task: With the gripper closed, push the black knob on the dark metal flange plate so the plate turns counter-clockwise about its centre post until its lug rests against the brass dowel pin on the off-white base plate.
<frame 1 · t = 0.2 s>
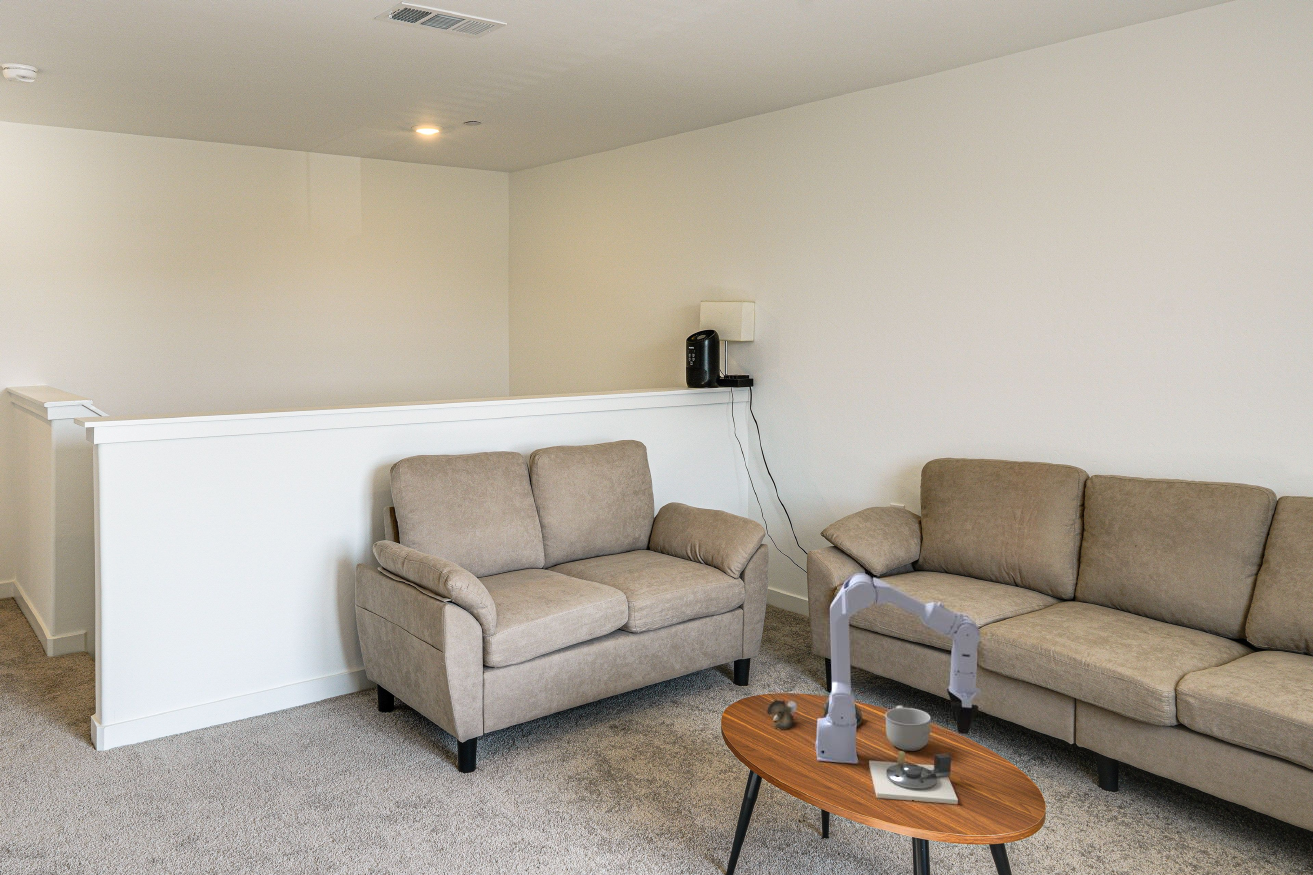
hand: (960, 726, 214), 10 cm above the table, tool pointing down, fingers open, 7 cm apart
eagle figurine: (780, 723, 241), on the table
fossil: (841, 723, 242), on the table
flange plate: (919, 767, 207), point 3 cm above the table, hinge at 0.0°
base plate: (911, 783, 207), on the table
teacup: (905, 744, 229), on the table
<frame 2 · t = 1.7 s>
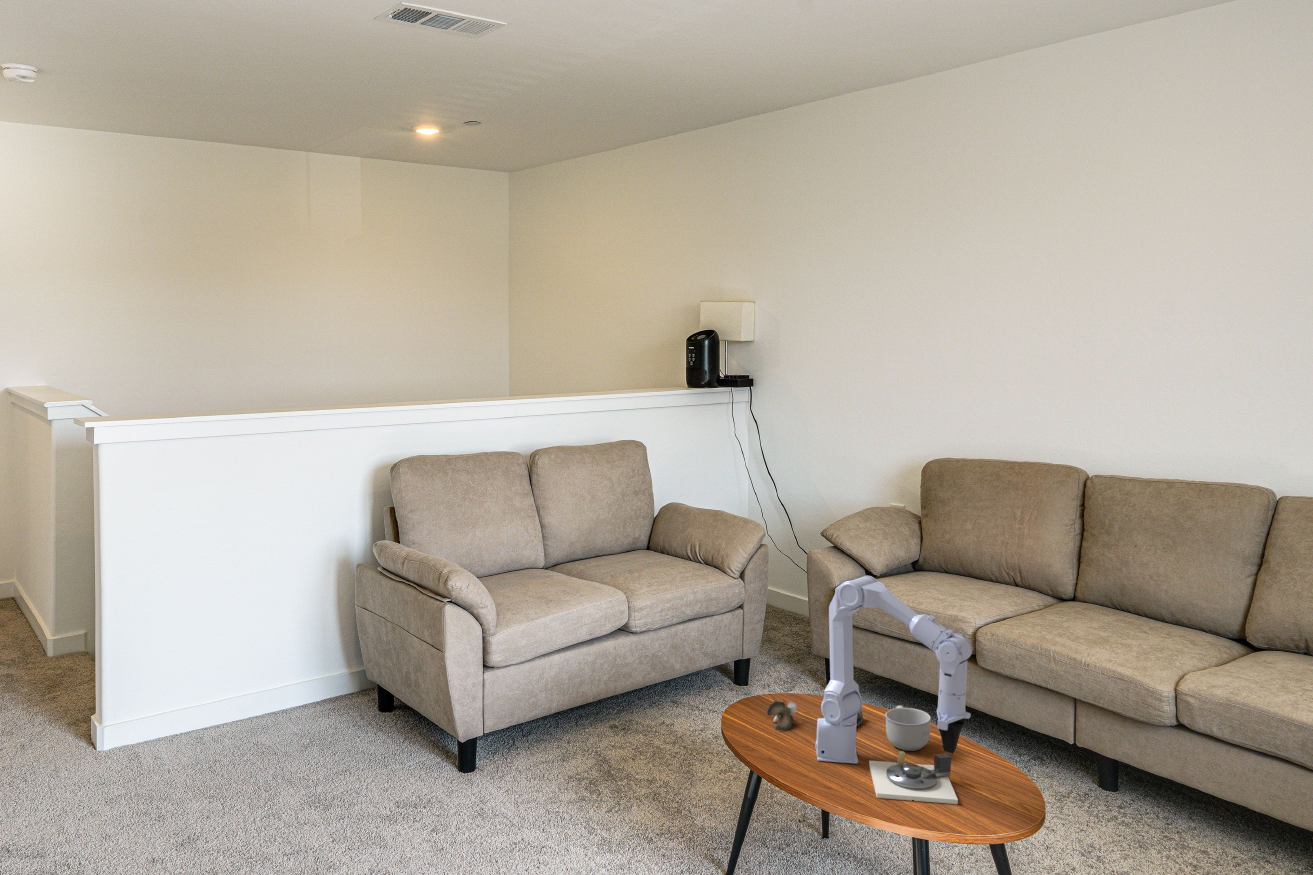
hand: (949, 751, 202), 9 cm above the table, tool pointing down, fingers closed
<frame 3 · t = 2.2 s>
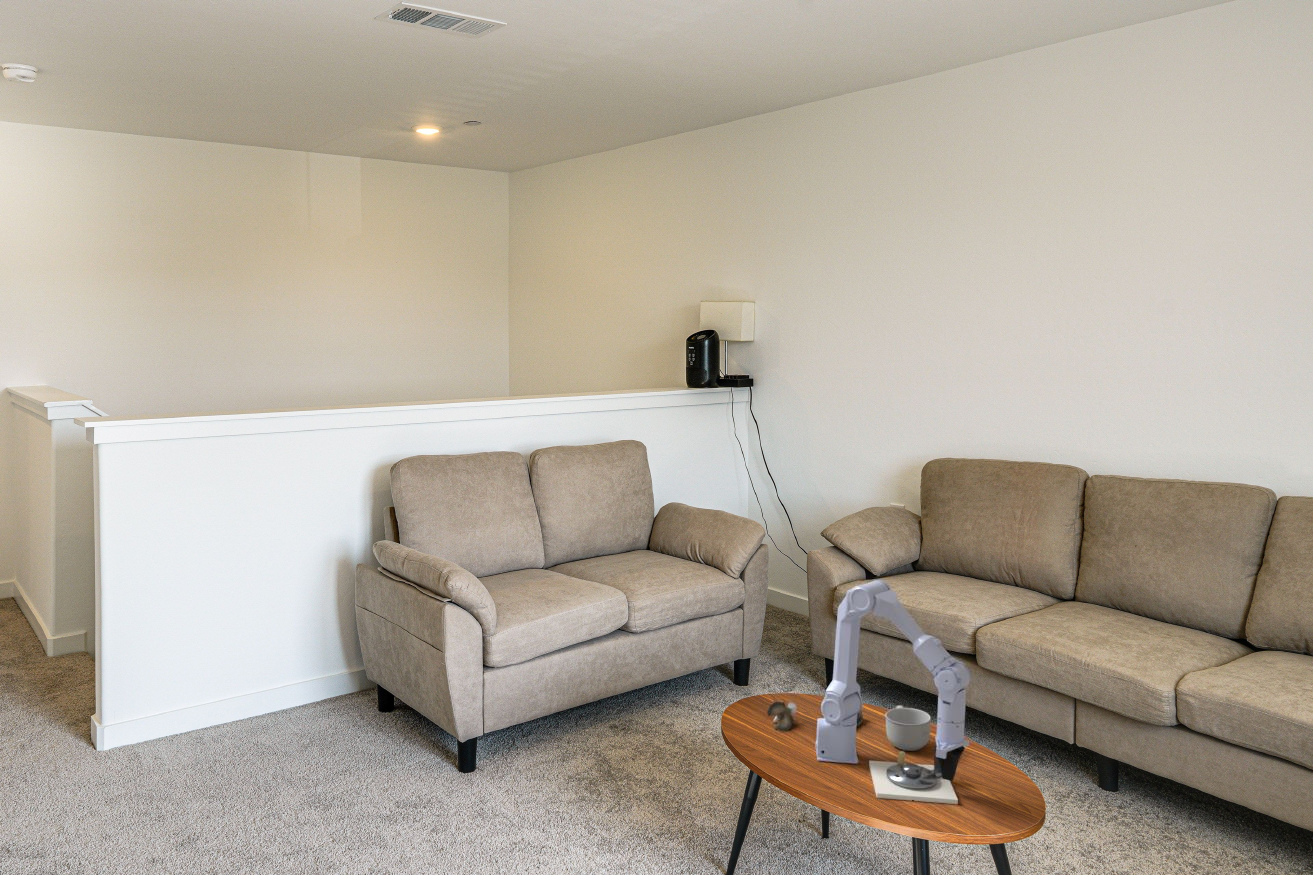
hand: (948, 778, 202), 3 cm above the table, tool pointing down, fingers closed
nothing on the table moved.
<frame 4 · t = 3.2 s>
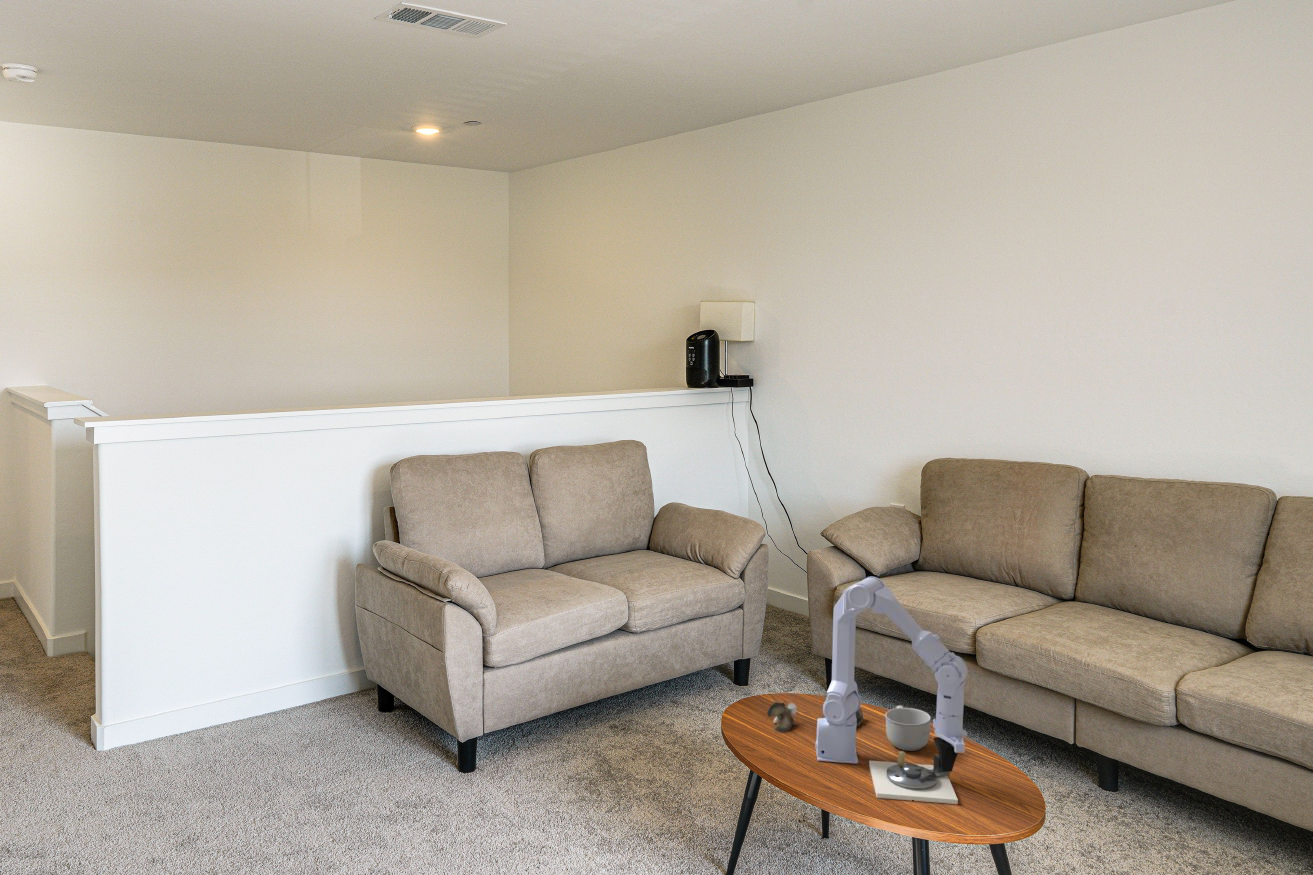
hand: (946, 770, 207), 3 cm above the table, tool pointing down, fingers closed
flange plate: (919, 767, 207), point 3 cm above the table, hinge at 1.4°, touching gripper
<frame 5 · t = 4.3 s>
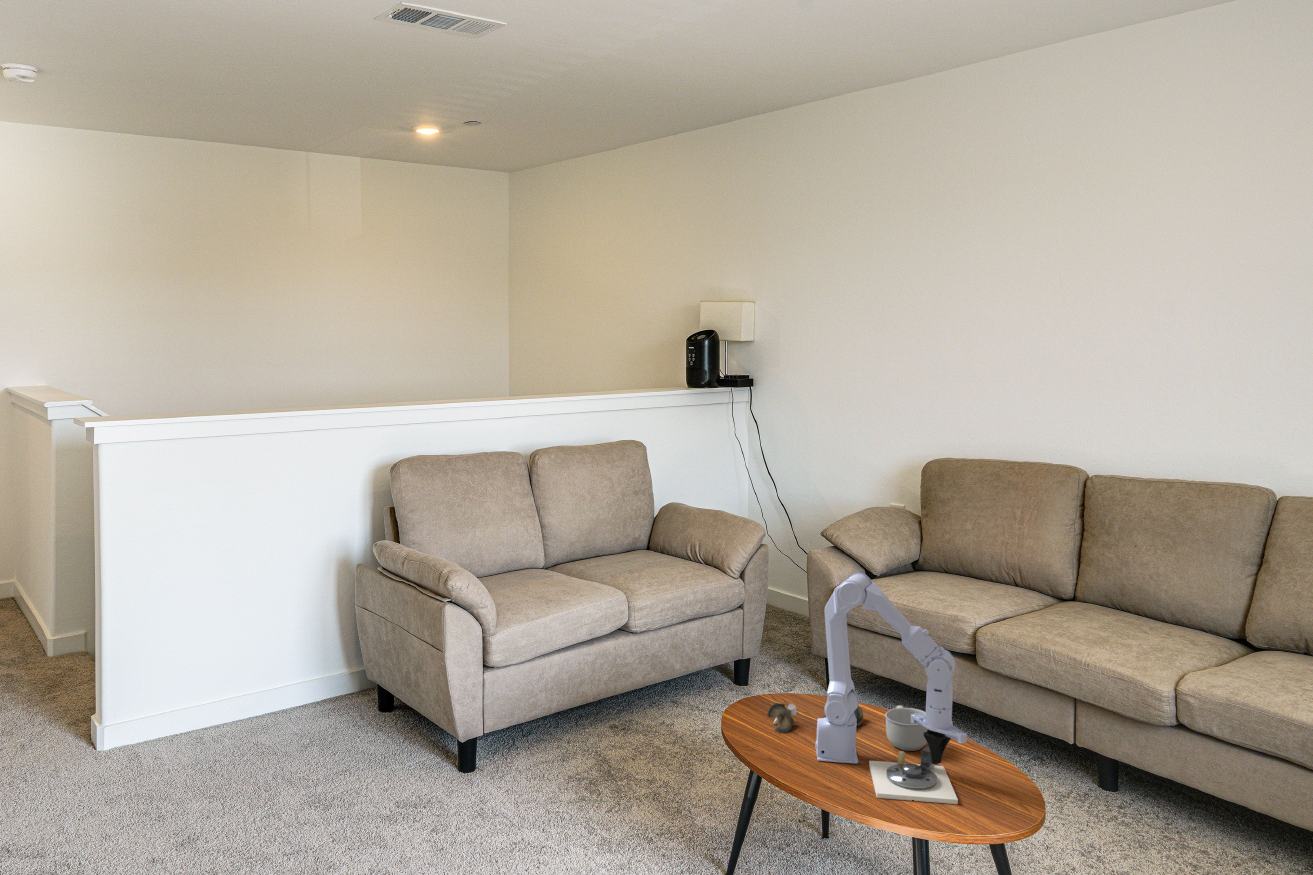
hand: (936, 762, 210), 3 cm above the table, tool pointing down, fingers closed
flange plate: (916, 765, 208), point 3 cm above the table, hinge at 29.9°, touching gripper
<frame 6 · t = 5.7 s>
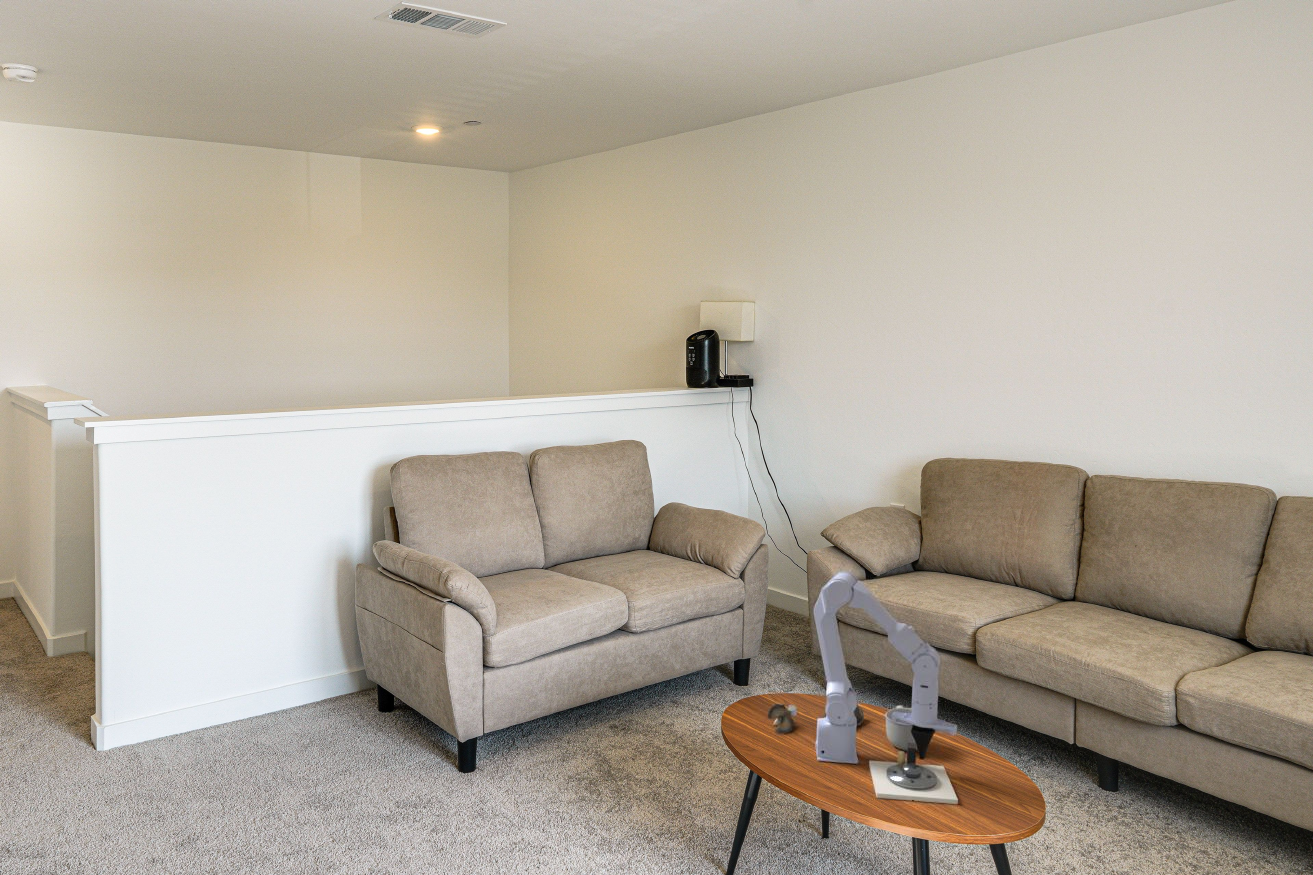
hand: (922, 757, 213), 3 cm above the table, tool pointing down, fingers closed
flange plate: (911, 764, 208), point 3 cm above the table, hinge at 57.6°, touching gripper
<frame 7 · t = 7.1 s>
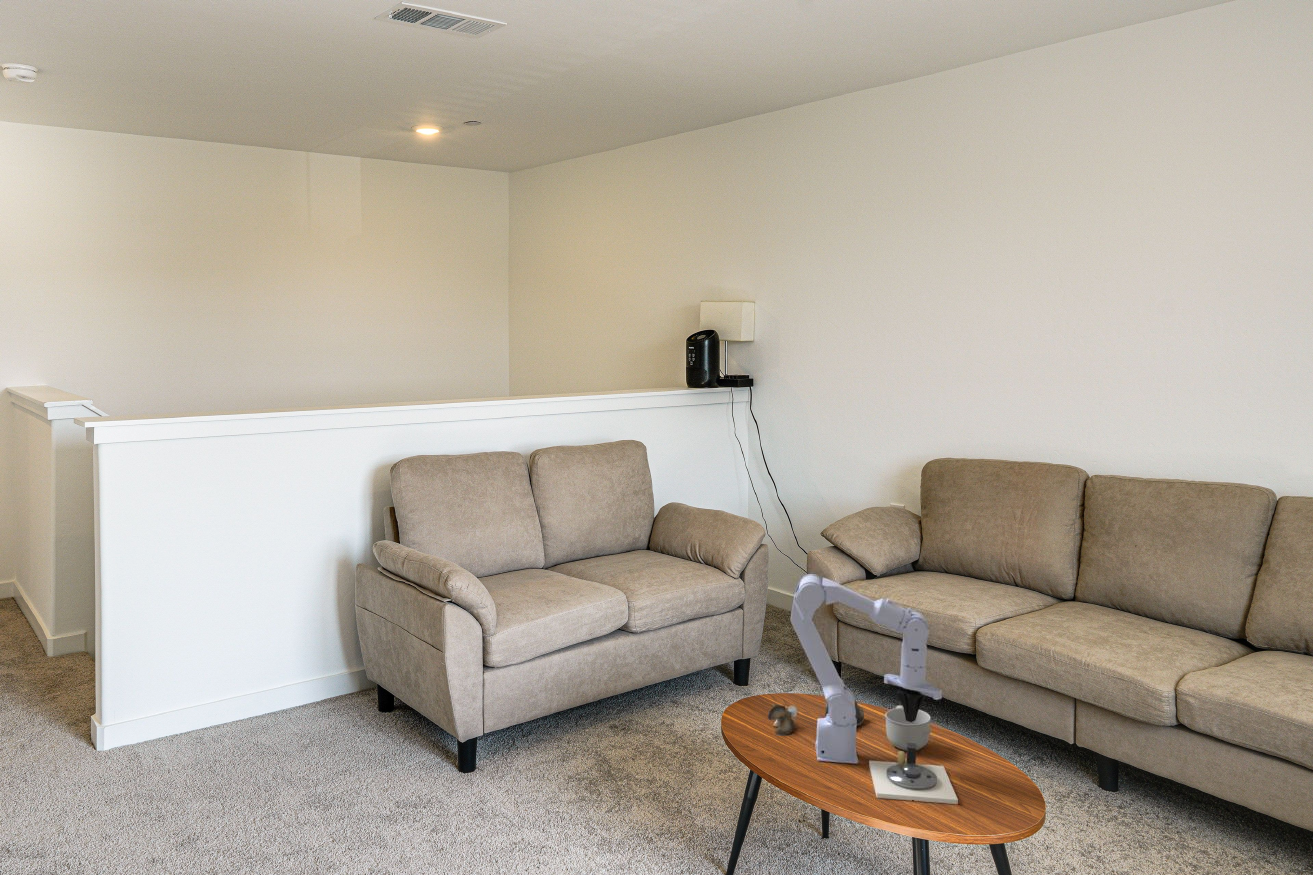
hand: (910, 720, 217), 10 cm above the table, tool pointing down, fingers closed
flange plate: (911, 764, 208), point 3 cm above the table, hinge at 57.7°
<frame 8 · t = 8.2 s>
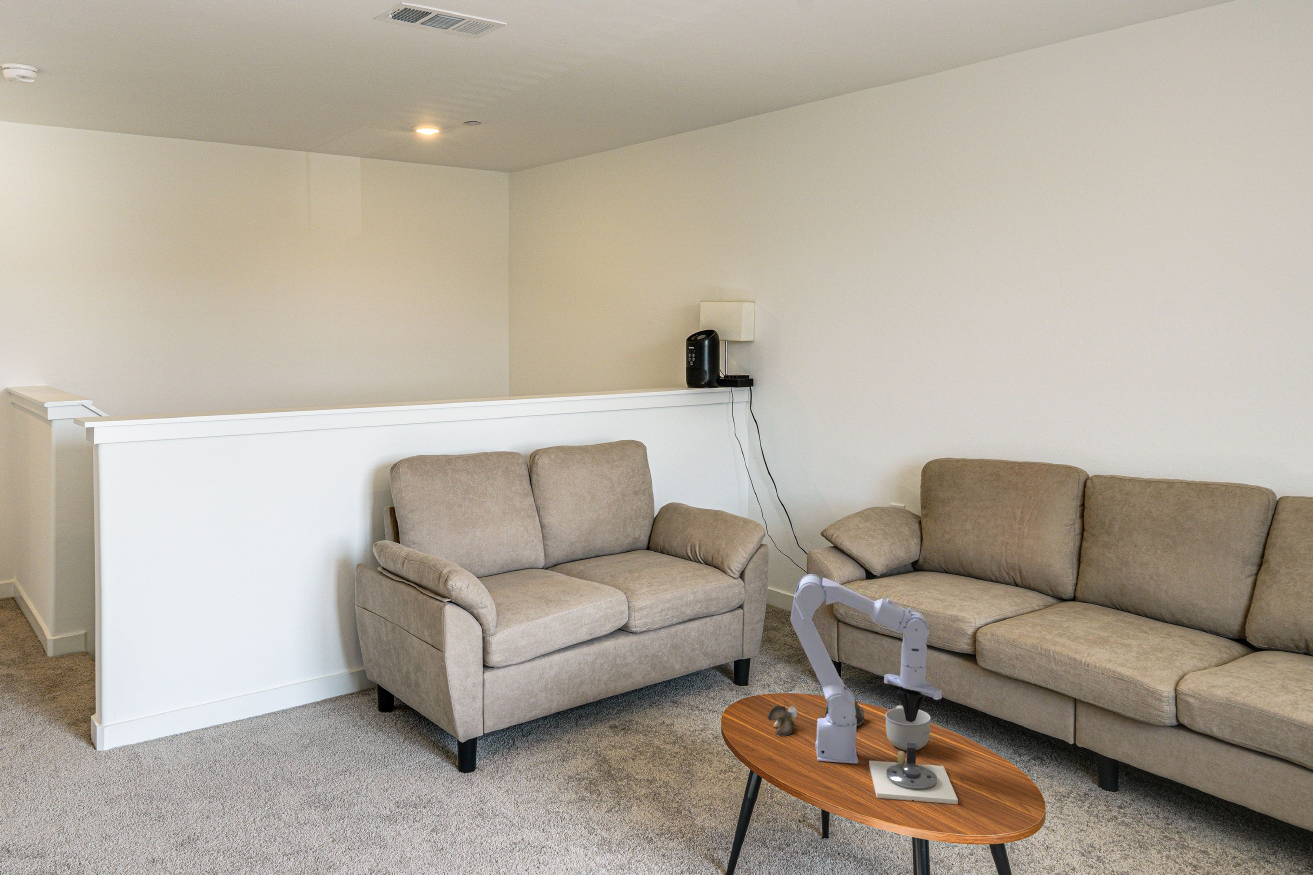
hand: (910, 720, 217), 10 cm above the table, tool pointing down, fingers closed
at the end: flange plate at +58° (first picture: +0°) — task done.
